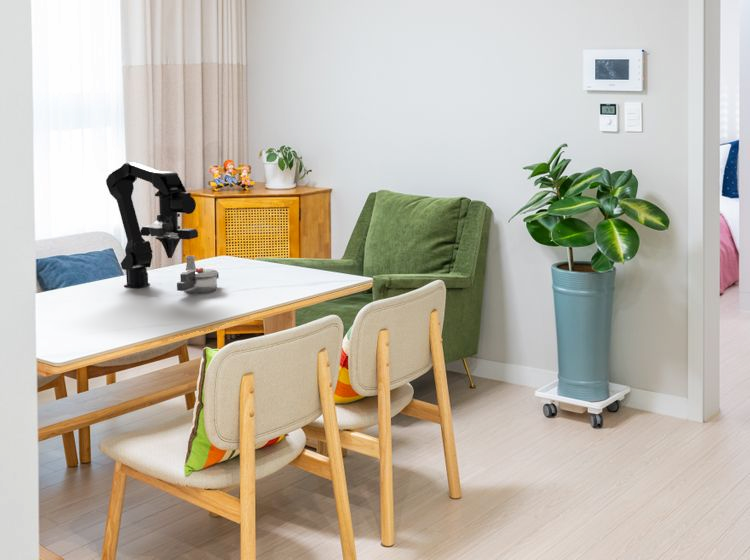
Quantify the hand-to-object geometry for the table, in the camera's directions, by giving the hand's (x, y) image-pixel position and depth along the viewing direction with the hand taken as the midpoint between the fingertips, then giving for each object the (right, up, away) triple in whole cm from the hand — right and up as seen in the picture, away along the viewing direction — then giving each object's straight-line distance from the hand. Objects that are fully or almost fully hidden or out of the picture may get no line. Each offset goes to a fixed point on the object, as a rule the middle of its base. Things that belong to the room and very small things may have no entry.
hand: (169, 258), depth 313 cm
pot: (+8, -11, +5) cm, 15 cm away
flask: (+4, -9, +15) cm, 18 cm away
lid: (+8, -6, +2) cm, 10 cm away
